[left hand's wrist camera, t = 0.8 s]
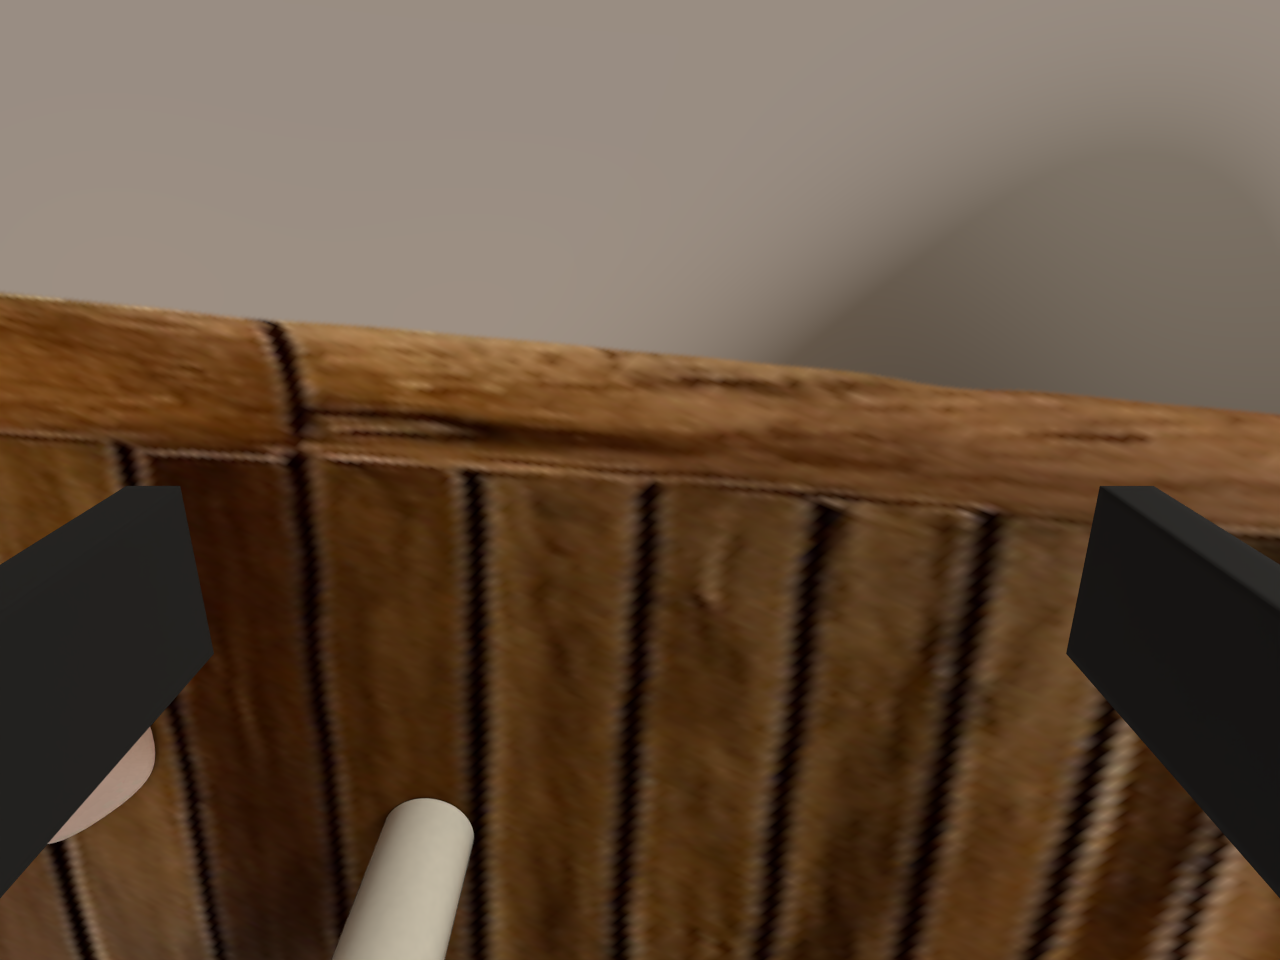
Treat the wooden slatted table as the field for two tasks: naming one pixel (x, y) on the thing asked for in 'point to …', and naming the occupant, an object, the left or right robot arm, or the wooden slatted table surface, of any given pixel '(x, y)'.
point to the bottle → (410, 885)
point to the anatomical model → (113, 787)
